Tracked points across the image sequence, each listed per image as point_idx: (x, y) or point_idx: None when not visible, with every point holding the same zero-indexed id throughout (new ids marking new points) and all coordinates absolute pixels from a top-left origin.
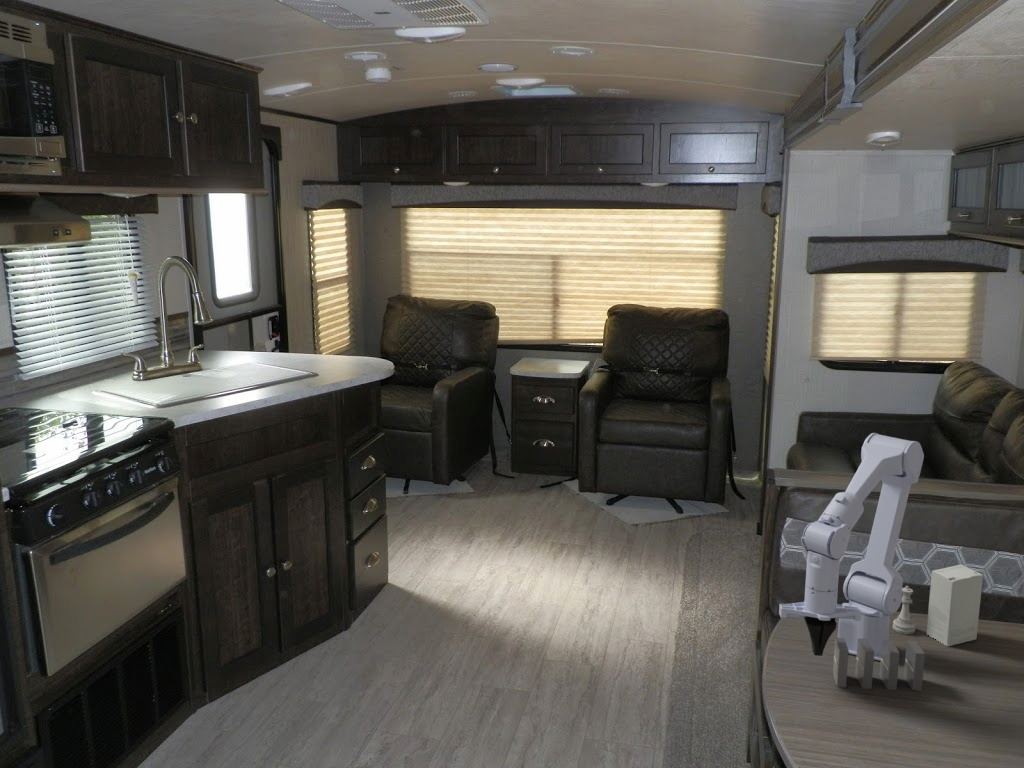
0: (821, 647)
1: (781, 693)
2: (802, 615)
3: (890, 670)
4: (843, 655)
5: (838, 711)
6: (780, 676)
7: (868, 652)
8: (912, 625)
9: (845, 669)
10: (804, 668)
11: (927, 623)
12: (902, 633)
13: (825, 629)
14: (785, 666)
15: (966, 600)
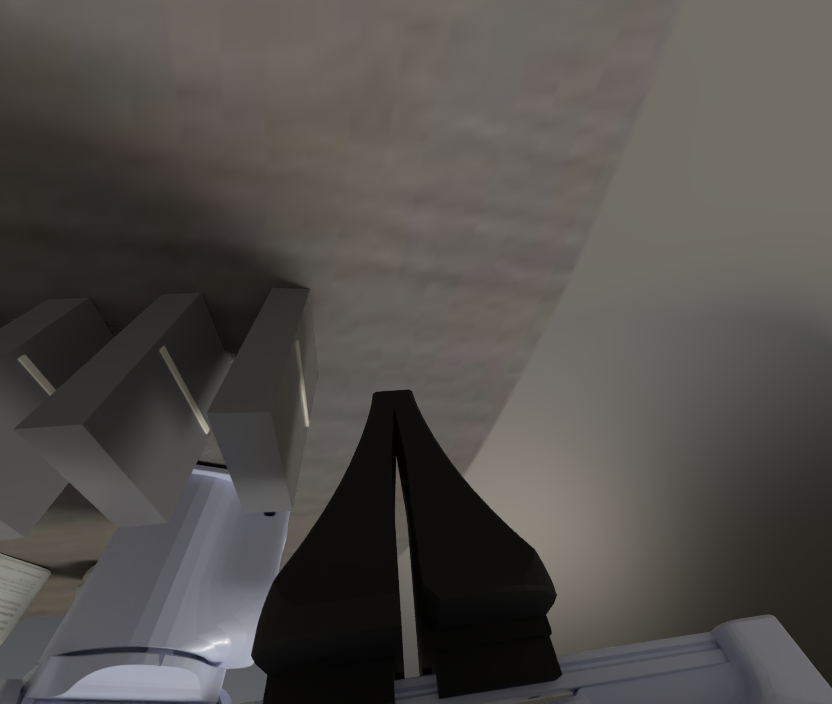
0: (383, 424)
1: (558, 205)
2: (582, 675)
3: (2, 352)
4: (251, 387)
5: (321, 30)
6: (509, 331)
7: (63, 419)
8: (78, 593)
9: (257, 333)
10: (411, 388)
11: (24, 609)
12: None
13: (376, 560)
14: (470, 389)
15: None
